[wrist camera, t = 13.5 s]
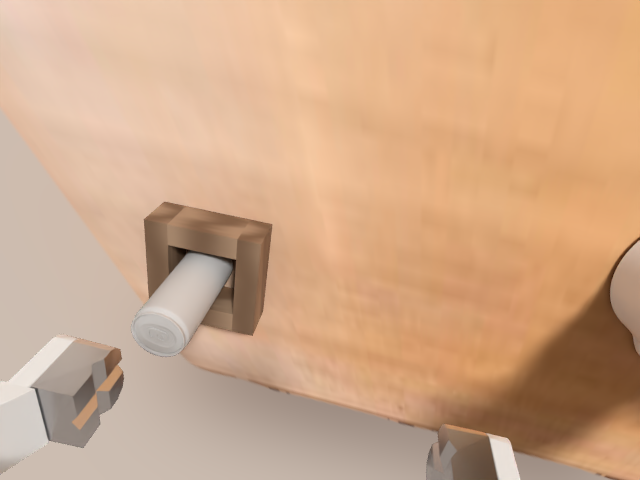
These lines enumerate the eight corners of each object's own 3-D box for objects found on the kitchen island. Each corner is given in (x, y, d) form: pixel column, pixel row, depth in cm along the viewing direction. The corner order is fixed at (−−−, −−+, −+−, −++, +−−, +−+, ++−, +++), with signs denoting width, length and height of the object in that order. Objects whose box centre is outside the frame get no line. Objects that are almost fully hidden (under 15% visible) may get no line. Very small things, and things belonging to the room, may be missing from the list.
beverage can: (230, 284, 46) (181, 365, 36) (187, 269, 46) (127, 346, 36) (239, 248, 44) (189, 324, 34) (194, 232, 44) (131, 304, 34)
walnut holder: (272, 224, 42) (261, 244, 39) (262, 311, 48) (252, 335, 44) (164, 201, 43) (143, 219, 39) (167, 290, 48) (149, 312, 45)
